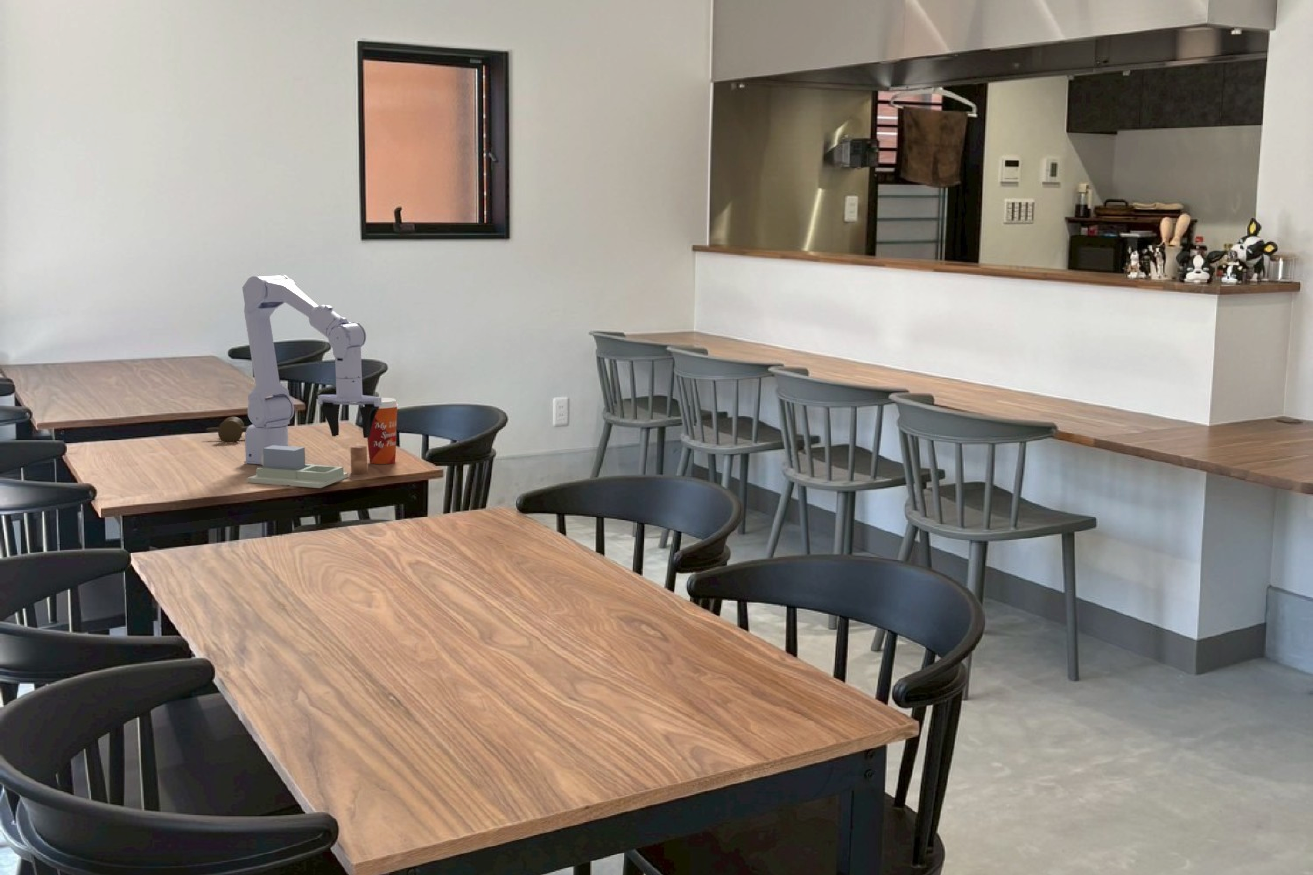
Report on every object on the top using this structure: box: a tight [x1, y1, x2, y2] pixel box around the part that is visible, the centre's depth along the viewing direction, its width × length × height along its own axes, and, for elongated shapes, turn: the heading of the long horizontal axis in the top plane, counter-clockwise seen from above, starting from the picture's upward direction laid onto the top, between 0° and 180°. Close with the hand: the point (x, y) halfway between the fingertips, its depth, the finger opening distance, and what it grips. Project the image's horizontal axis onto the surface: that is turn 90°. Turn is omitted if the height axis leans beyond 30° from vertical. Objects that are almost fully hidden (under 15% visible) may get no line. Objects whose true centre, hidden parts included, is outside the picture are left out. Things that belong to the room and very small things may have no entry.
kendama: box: [205, 416, 250, 443], centre depth 333 cm, size 6×10×20 cm
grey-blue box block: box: [260, 445, 306, 470], centre depth 286 cm, size 9×4×6 cm, turn 74°
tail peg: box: [349, 445, 368, 475], centre depth 293 cm, size 4×4×6 cm
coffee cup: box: [362, 397, 399, 465], centre depth 304 cm, size 8×8×15 cm
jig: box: [246, 463, 349, 489], centre depth 285 cm, size 18×12×3 cm, turn 74°
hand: (351, 436), depth 291 cm, fingers open, 7 cm apart
